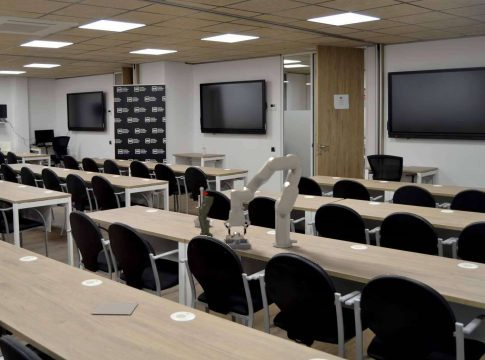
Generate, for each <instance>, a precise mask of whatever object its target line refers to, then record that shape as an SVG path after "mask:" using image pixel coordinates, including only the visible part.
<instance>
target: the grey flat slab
mask: <svg viewBox="0 0 485 360" xmlns="http://www.w3.org/2000/svg"><path fill="white" fill-rule="evenodd" d="M138 304H139V302H120V301H119V302H117V301H116V302H114V301H113V302H111V301H110V302H107V301H106V302H105V301H103V302H100V303H99V305H97V306H96V308H95V309H94V310H93V311H92V312H91V315H96V314H97V315H131V314H132V313H133V311H134V310H135V309H136V307H137V306H138Z"/></svg>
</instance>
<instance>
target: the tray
mask: <svg viewBox="0 0 485 360" xmlns="http://www.w3.org/2000/svg"><path fill="white" fill-rule="evenodd" d="M224 243H226V244H228V245H229V246H230V247H231V248H232V250H250V248H251V246H250V241H249V238H245V239H240V244H233V239H226V238H223V244H224Z"/></svg>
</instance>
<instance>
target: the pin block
mask: <svg viewBox="0 0 485 360" xmlns="http://www.w3.org/2000/svg"><path fill="white" fill-rule="evenodd" d="M225 239H233V234H230V236H229V234H226V235H225ZM240 239H246V238H245V235H244V234H240Z"/></svg>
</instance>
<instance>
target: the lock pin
mask: <svg viewBox="0 0 485 360" xmlns="http://www.w3.org/2000/svg"><path fill="white" fill-rule="evenodd" d="M232 235H233V244H240V235H241V232H239V231H238V232H236V231H235V232H233V234H232Z"/></svg>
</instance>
